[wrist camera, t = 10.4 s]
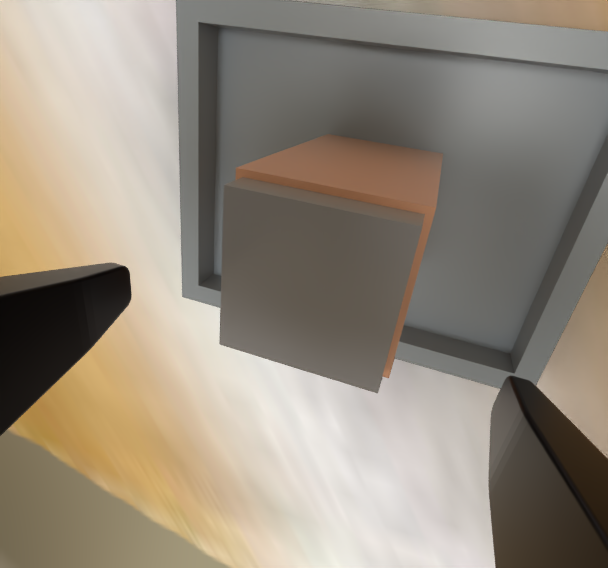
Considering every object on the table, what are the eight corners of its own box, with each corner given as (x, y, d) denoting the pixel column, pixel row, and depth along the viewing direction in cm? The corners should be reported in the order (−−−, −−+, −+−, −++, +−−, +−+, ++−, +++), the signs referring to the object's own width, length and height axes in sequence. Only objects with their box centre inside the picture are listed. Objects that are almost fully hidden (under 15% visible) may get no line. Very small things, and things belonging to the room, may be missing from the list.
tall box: (442, 153, 17) (434, 219, 8) (414, 262, 19) (383, 401, 11) (328, 133, 18) (216, 174, 9) (313, 238, 20) (213, 347, 12)
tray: (670, 48, 14) (709, 41, 12) (522, 366, 21) (530, 397, 19) (207, 0, 18) (175, -11, 16) (204, 279, 25) (182, 296, 23)
